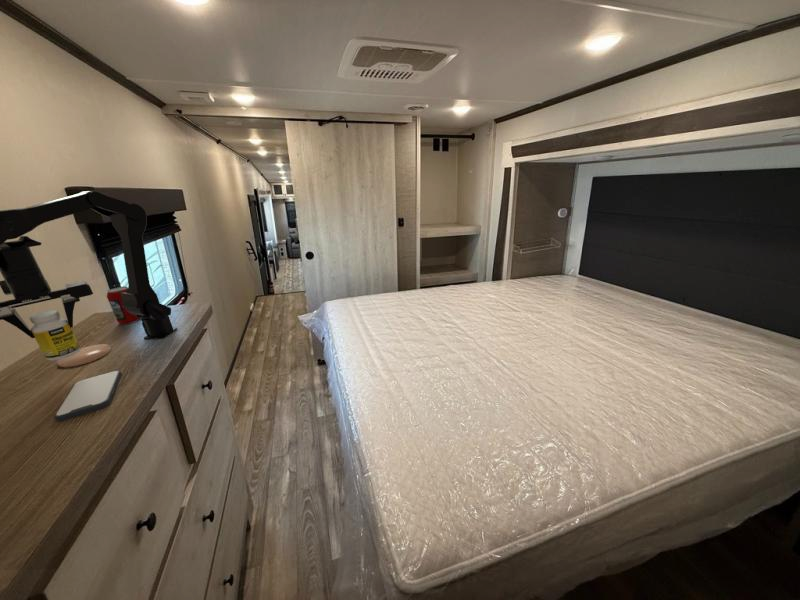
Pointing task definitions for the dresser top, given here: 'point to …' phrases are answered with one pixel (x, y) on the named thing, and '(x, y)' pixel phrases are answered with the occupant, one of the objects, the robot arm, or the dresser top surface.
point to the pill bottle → (54, 335)
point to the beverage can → (120, 306)
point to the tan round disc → (85, 355)
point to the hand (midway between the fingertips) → (53, 332)
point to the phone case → (88, 396)
